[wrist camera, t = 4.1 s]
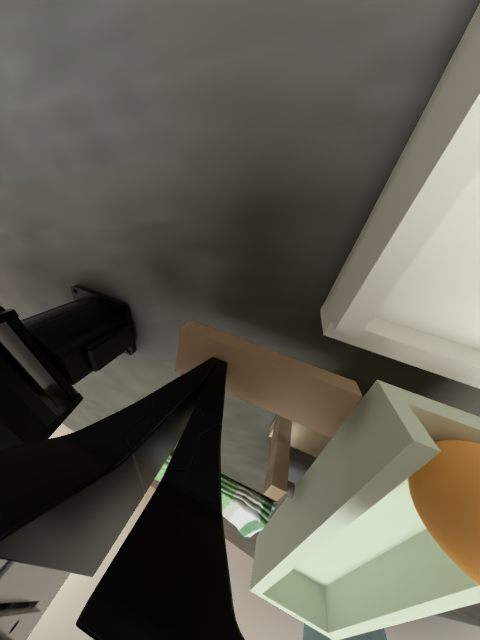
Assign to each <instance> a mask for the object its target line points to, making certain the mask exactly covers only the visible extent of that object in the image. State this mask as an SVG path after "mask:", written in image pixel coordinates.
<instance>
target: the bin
mask: <svg viewBox="0 0 480 640" xmlns="http://www.w3.org/2000/svg"><path fill="white" fill-rule="evenodd" d="M320 314H321V321H322V329H323V335H325V336H328V337H330V338H333V339H336V340H339V341H342V342H345V343H348V344H351V345H354V346H357V347H360V348H362V349H365V350H368V351H371V352H374V353H377V354H380V355H383V356H386V357H389V358H391V359H394V360H397V361H400V362H403V363H406V364H409V365H412V366H415V367H418V368H421V369H423V370H426V371H429V372H432V373H435V374H438V375H441V376H444V377H447V378H450V379H452V380H455V381H458V382H461V383H464V384H467V385H470V386H473V387H476V388H479V389H480V3H479V5H478V7H477V9H476V11H475V13H474V15H473V17H472V19H471V21H470V23H469V25H468V26H467V28H466V30H465V32H464V34H463V36H462V38H461V40H460V42H459V44H458V46H457V48H456V50H455V52H454V53H453V55H452V57H451V59H450V61H449V63H448V65H447V67H446V69H445V71H444V73H443V75H442V77H441V79H440V80H439V82H438V84H437V86H436V88H435V90H434V92H433V94H432V96H431V98H430V100H429V102H428V104H427V105H426V107H425V109H424V111H423V113H422V115H421V117H420V119H419V121H418V123H417V125H416V127H415V129H414V131H413V132H412V134H411V136H410V138H409V140H408V142H407V144H406V146H405V148H404V150H403V152H402V154H401V156H400V158H399V159H398V161H397V163H396V165H395V167H394V169H393V171H392V173H391V175H390V177H389V179H388V181H387V183H386V185H385V186H384V188H383V190H382V192H381V194H380V196H379V198H378V200H377V202H376V204H375V206H374V208H373V210H372V211H371V213H370V215H369V217H368V219H367V221H366V223H365V225H364V227H363V229H362V231H361V233H360V235H359V237H358V238H357V240H356V242H355V244H354V246H353V248H352V250H351V252H350V254H349V256H348V258H347V260H346V262H345V264H344V265H343V267H342V269H341V271H340V273H339V275H338V277H337V279H336V281H335V283H334V285H333V287H332V289H331V291H330V292H329V294H328V296H327V298H326V300H325V302H324V304H323V306H322V308H321V310H320Z"/></svg>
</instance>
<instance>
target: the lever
mask: <svg viewBox="0 0 480 640" xmlns="http://www.w3.org/2000/svg"><path fill="white" fill-rule="evenodd" d="M212 357H215V358H218V359H220V360H223V361H225V362H227V375H226V386H225V393H228V394H230V395H232V396H235V397H237V398H239V399H242V400H244V401H246V402H249V403H251V404H253V405H256V406H258V407H260V408H263V409H265V410H267V411H270V412H272V413H274V414H277V415H279V416H281V417H284V418H286V419H288V420H291V421H293V422H295V423H298V424H300V425H303V426H305V427H307V428H310V429H312V430H314V431H317V432H319V433H321V434H324V435H326V436H328V437H331V438H332V436H333V435H334V434H335V433H336V434H335V435H334V436H333V438H332V439H331V440H330V442H329V443H328V444H327V446H326V447H325V448H324V449H323V451H322V452H321V453H320V455H319V456H318V457H317V459H316V460H315V461H314V463H313V464H312V465H311V467H310V468H309V469H308V470H307V472H306V473H305V474H304V476H303V477H302V478H301V480H300V481H299V482H298V484H297V485H296V486H295V492H294V496H293V498H290V497H287V498H286V499H285V501H284V502H283V503H282V504H281V506H280V507H279V508H278V510H277V511H276V512H275V514H274V515H273V516H272V518H271V519H270V520H269V521H268V523H267V524H266V525H265V527H264V528H263V529H262V531H261V532H260V533H259V535H258V536H257V540H256V547H255V555H254V562H253V569H252V577H251V584H250V591H251V592H253V593H255V594H256V595H258V596H260V597H262V598H263V599H265V600H266V601H268V602H270V603H271V604H273V605H275V606H276V607H278V608H280V609H282V610H283V611H285V612H286V613H288V614H290V615H291V616H294V617H295V618H296V619H298V620H300V621H302V622H303V623H305V624H306V625H308V626H310V627H312V628H313V629H315V630H317V631H318V632H320V633H322V634H323V635H325V636H327V637H328V638H330V639H332V640H340V639H344V638H348V637H352V636H356V635H359V634H363V633H367V632H371V631H374V630H378V629H382V628H386V627H389V626H393V625H397V624H401V623H405V622H408V621H412V620H416V619H420V618H423V617H427V616H431V615H435V614H439V613H442V612H446V611H450V610H454V609H457V608H461V607H465V606H469V605H473V604H476V603H480V585H479V584H478V583H477V582H475V581H474V580H473V579H472V578H470V577H469V576H468V575H467V574H466V573H465V572H464V571H463V570H462V569H461V568H459V567H458V566H457V565H456V564H455V563H454V562H453V560H452V559H451V558H450V557H449V556H448V555H447V554H446V553H445V552H444V551H443V550H442V548H441V547H440V546H439V545H438V544H437V542H436V541H435V540H434V538H433V537H432V536H431V534H430V533H429V531H428V530H427V528H426V527H425V525H424V523H423V522H422V520H421V518H420V517H419V515H418V513H417V511H416V508H415V506H414V503H413V501H412V498H411V495H410V490H409V485H408V478H409V477H410V476H411V475H412V474H414V473H415V472H416V471H417V470H419V469H420V468H421V467H422V466H424V465H425V464H426V463H427V462H429V461H430V460H431V459H433V458H434V457H435V456H436V455H438V454H439V453H440V452H441V451H440V449H439V448H438V446H437V445H436V444H435V442H436V441H441V440H463V441H469V442H475V443H479V444H480V417H478V416H475V415H472V414H470V413H467V412H464V411H462V410H459V409H456V408H453V407H451V406H448V405H445V404H442V403H440V402H437V401H434V400H431V399H429V398H426V397H423V396H420V395H418V394H415V393H412V392H410V391H407V390H404V389H401V388H399V387H396V386H393V385H390V384H388V383H385V382H382V381H379V380H376V381H375V383H374V384H373V385H372V387H371V388H370V389H369V391H368V392H367V393H366V395H365V396H364V397H363V396H362V394H361V392H360V390H359V387H358V385H357V383H356V381H353V380H350V379H348V378H345V377H342V376H340V375H337V374H334V373H332V372H329V371H326V370H324V369H321V368H318V367H315V366H313V365H310V364H307V363H305V362H302V361H299V360H297V359H294V358H291V357H289V356H286V355H283V354H281V353H278V352H275V351H273V350H270V349H267V348H265V347H262V346H259V345H257V344H254V343H251V342H249V341H246V340H243V339H240V338H238V337H235V336H232V335H230V334H227V333H224V332H222V331H219V330H216V329H214V328H211V327H208V326H206V325H203V324H200V323H198V322H195V321H192V320H190V321H189V322H187V323H186V324H184V325H183V326H182V327H181V330H180V338H179V346H178V355H177V363H176V372H179V373H181V374H185V373H186V372H188V371H190V370H191V369H193V368H195V367H196V366H198V365H200V364H201V363H203V362H205V361H206V360H208V359H210V358H212ZM362 397H363V398H362ZM361 398H362V400H361ZM360 400H361V401H360ZM359 401H360V402H359ZM358 402H359V404H358ZM357 404H358V405H357ZM356 405H357V406H356ZM355 406H356V408H355ZM354 408H355V409H354ZM353 409H354V410H353ZM352 410H353V412H352ZM351 412H352V413H351ZM350 413H351V414H350ZM349 414H350V415H349ZM348 415H349V417H348ZM347 417H348V418H347ZM346 418H347V419H346ZM345 419H346V421H345ZM344 421H345V422H344ZM343 422H344V423H343ZM342 423H343V425H342ZM341 425H342V426H341ZM340 426H341V427H340ZM339 427H340V429H339ZM338 429H339V430H338ZM337 430H338V431H337ZM336 431H337V432H336Z"/></svg>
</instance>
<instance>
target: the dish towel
mask: <svg viewBox="0 0 480 640" xmlns="http://www.w3.org/2000/svg"><path fill="white" fill-rule="evenodd" d="M174 451H175V450H172V452H171V454H170V455H169V457H168V458H167V460H166V462H165V463H164V465H163V466H162V468H161V469H160V471H159V473H158V474H157V476H156V477H155V479H156V480H158V481H161V479H162V477H163V475H164V473H165V471H166V468H167V466H168V464H169V462H170V459H171V457H172V455H173V453H174ZM221 491H222V515H223V517H225V518H226V519H227V520H228V521H229V522H231V523H232V524H234V525H235V526H236V527H237V529H238V530H239V532H240V533H241V534H242V535H243V536H244V537H247V536H248V537H251V536H252V535H254V534H255V533H257V532H259V531H261V530H262V529H263V528H264V527H265V525H266V524H267V523H268V521H269V516H270V514H272V510H275V506H274V504H275V503H274V502H272V501H270V500H268V499H266V498H265V497H262V496H261V495H259V494H257V493H255V492H254V491H252V490H250V489H248V488H246V487H244V486H242V485H240V484H239V483H237V482H235V481H233V480H231V479H229V478H227V477H225V476H223V475H221Z"/></svg>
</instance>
